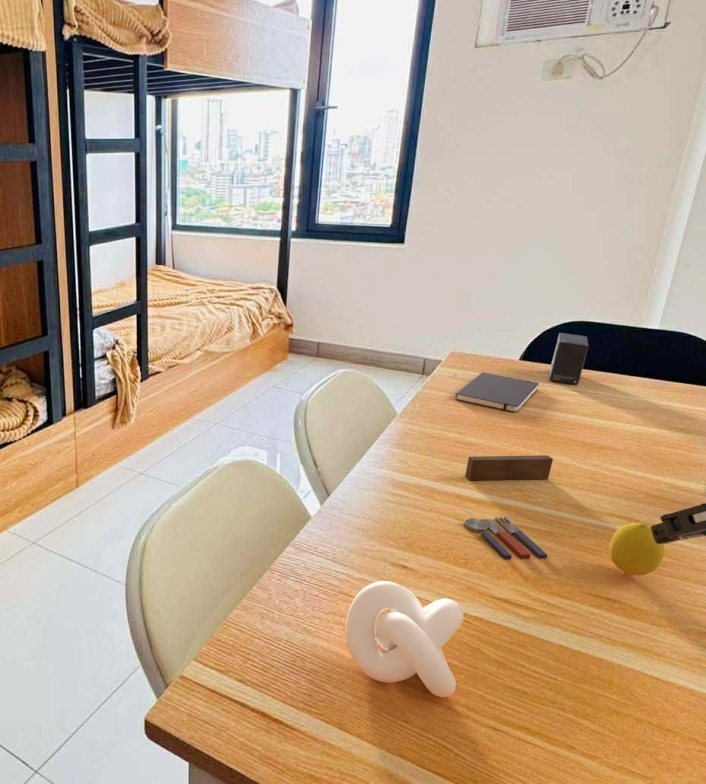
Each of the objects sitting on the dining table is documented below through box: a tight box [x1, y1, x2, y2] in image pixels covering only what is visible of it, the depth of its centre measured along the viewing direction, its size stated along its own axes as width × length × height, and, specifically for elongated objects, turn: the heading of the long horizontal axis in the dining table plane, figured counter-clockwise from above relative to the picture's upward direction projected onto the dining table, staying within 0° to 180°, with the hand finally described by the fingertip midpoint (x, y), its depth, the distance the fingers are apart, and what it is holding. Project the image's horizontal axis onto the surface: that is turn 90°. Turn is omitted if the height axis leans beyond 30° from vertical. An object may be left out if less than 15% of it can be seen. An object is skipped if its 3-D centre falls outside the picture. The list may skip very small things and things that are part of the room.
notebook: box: [455, 371, 540, 413], centre depth 150 cm, size 13×2×21 cm
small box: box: [548, 332, 589, 385], centre depth 159 cm, size 11×6×10 cm, turn 147°
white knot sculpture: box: [345, 580, 465, 699], centre depth 67 cm, size 11×12×9 cm
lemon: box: [608, 522, 665, 577], centre depth 83 cm, size 6×6×8 cm
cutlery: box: [463, 516, 549, 560], centre depth 93 cm, size 10×8×1 cm
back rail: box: [464, 454, 554, 481], centre depth 110 cm, size 14×2×4 cm, turn 91°
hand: (690, 534), depth 75 cm, fingers open, 8 cm apart
